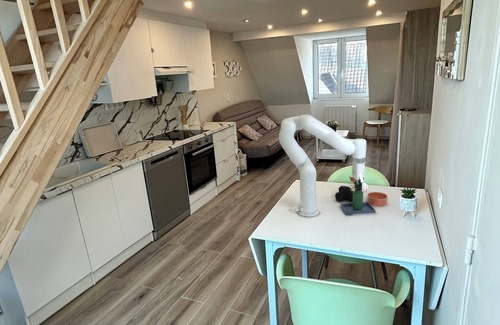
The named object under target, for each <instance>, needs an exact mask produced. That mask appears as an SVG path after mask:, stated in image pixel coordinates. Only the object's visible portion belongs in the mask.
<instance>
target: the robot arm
mask: <svg viewBox="0 0 500 325" xmlns="http://www.w3.org/2000/svg"><path fill="white" fill-rule="evenodd" d="M301 130H304V131H306V132H307V133H309V134H310V135H312V136H314V137H315V138H317V139H319V140H321V141H322V142H324V143H325V144H327V145H329V146H331V147H332V148H334V149H335V150H337V151H338V152H340V153H342V154H344V155H347V156H352V157H351V160H352V161H351V177H353V178H354V179H355V180H354V181H355V184H354V183H353V187H354V188H353V189H356V190H357V191H359V190H362V183H364V181H365V179H366V168H365V167H366V166H365V164H366V162H367V161H366V160H367V140H366V139H364V138H355V139H352V138H346V137H343V136H342V135H341V134H339V133H338V132H336V131H335V130H334V129H333V128H332V127H330V126H329V125H327V124H325V123H323V122H322V121H320V120H319V119H317V118H315V117H314V116H312V115H311V114H301V115H295V116H291V117H287V118H284V119H283V120H282V121H281V124H280V130H279V133H278V142H279V144H280V146H281V147H282V149H283V150H284V152H285V153H286V155H287V157H288V158H289V160H290V161H291V163H292V164H294V166H295V167H296V168H297V171H298V174H299V194H300V196H299V198H300V199H299V200H300V202H299V203H300V204H299V205H297V206H292V210H293V211H295V212H297V213H298V215H300V216H302V217H306V218H309V217H316V216H318V215H319V213H320V210H319V208H317V169H316V166H315V165H314V163H313V162H312V161H311V159H310V158H309V156H308V155H307V153H306V151H305V150H304V148H302V147H301V146H300V145H299V144H298V142H297V140H296V139H295V133H296V131H301ZM356 180H357V184H356ZM359 180H360V181H359Z"/></svg>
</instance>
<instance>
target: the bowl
mask: <svg viewBox="0 0 500 325" xmlns="http://www.w3.org/2000/svg"><path fill="white" fill-rule="evenodd" d="M388 197H389V196H388V194H386V193H384V192H381V191H372V192H367V193H366V202H369V203H370V204H371V206H372V207H385V206H387V205H388V199H389V198H388Z"/></svg>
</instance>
